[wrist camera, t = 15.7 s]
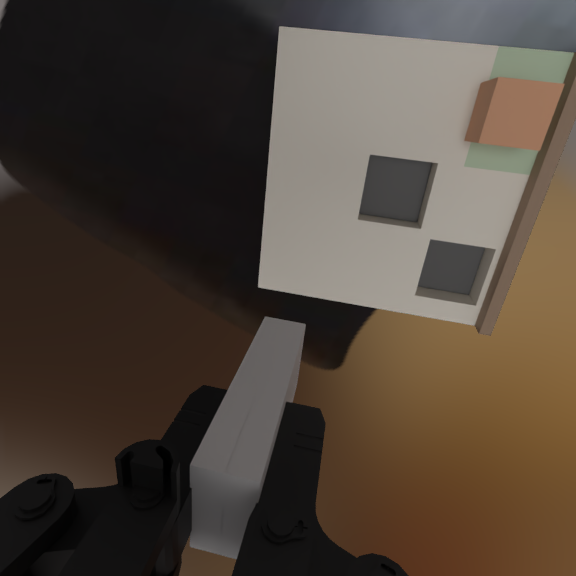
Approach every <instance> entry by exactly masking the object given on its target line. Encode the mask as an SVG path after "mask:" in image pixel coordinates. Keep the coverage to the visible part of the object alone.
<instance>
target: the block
mask: <svg viewBox="0 0 576 576" xmlns="http://www.w3.org/2000/svg"><path fill="white" fill-rule="evenodd" d="M564 85H565V84H562V83H552V82H543V81H533V80H524V79H514V78H505V77H497V78H494V79H491V80H488V81H485V82H482V83H481V84H480V88H479V91H478V95H477V98H476V102H475V105H474V108H473V112H472V115H471V119H470V122H469V126H468V129H467V133H466V136H465V140H464V141H469V142H475V143H482V144H490V145H497V146H505V147H513V148H521V149H529V150H537V151H540V149H541V147H542V144H543V141H544V139H545V136H546V133H547V130H548V128H549V125H550V122H551V120H552V117H553V114H554V112H555V109H556V106H557V104H558V101H559V98H560V96H561V93H562V90H563V88H564Z"/></svg>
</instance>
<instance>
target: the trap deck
mask: <svg viewBox="0 0 576 576" xmlns="http://www.w3.org/2000/svg"><path fill="white" fill-rule="evenodd" d="M497 77H505V78H514V79H524V80H533V81H543V82H552V83H562V84H565V85H564V88H563V90H562V93H561V96H560V98H559V101H558V104H557V106H556V109H555V112H554V114H553V117H552V120H551V122H550V125H549V128H548V130H547V133H546V136H545V139H544V141H543V144H542V147H541V149H540V151H537V150H529V149H521V148H513V147H505V146H497V145H490V144H482V143H475V142H469V141H464V140H465V136H466V133H467V129H468V126H469V122H470V119H471V115H472V112H473V108H474V105H475V102H476V98H477V95H478V91H479V88H480V84H481V83H482V82H485V81H488V80H491V79H494V78H497ZM575 119H576V52H575V53H572V52H561V51H549V50H538V49H527V48H516V47H505V46H494V45H482V44H471V43H460V42H449V41H438V40H427V39H416V38H404V37H393V36H382V35H371V34H360V33H349V32H337V31H326V30H315V29H304V28H293V27H282V26H279V37H278V49H277V61H276V73H275V86H274V98H273V110H272V123H271V135H270V147H269V159H268V172H267V184H266V196H265V208H264V221H263V233H262V245H261V257H260V270H259V282H258V287H259V288H265V289H271V290H276V291H282V292H288V293H293V294H299V295H305V296H310V297H316V298H322V299H327V300H333V301H339V302H344V303H350V304H355V305H361V306H367V307H372V308H378V309H384V310H390V311H395V312H401V313H406V314H413V315H418V316H423V317H429V318H435V319H440V320H446V321H451V322H457V323H463V324H468V325H474V326H475V327H476V329H477V331H478V333H479V334H484V335H491V333H492V331H493V328H494V326H495V323H496V321H497V318H498V316H499V313H500V310H501V308H502V305H503V303H504V300H505V298H506V295H507V293H508V290H509V288H510V285H511V282H512V280H513V277H514V275H515V272H516V270H517V267H518V265H519V262H520V259H521V257H522V254H523V252H524V249H525V247H526V244H527V242H528V239H529V236H530V234H531V231H532V229H533V226H534V224H535V221H536V219H537V216H538V213H539V211H540V208H541V206H542V203H543V201H544V198H545V195H546V193H547V190H548V188H549V185H550V182H551V180H552V178H553V175H554V173H555V170H556V167H557V165H558V162H559V160H560V157H561V155H562V152H563V149H564V147H565V144H566V142H567V139H568V137H569V134H570V132H571V129H572V126H573V124H574V121H575ZM431 166H432V167H431ZM430 170H431V171H430ZM426 185H427V186H426ZM425 189H426V190H425ZM424 193H425V194H424ZM423 197H424V198H423ZM422 201H423V202H422ZM421 205H422V206H421ZM364 214H365V215H364ZM384 217H385V218H384ZM391 218H392V219H391ZM398 219H399V220H398ZM417 220H418V221H417Z"/></svg>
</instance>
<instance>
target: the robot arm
mask: <svg viewBox="0 0 576 576" xmlns="http://www.w3.org/2000/svg"><path fill="white" fill-rule="evenodd" d="M305 326H306V324H302V323H297V322H291V321H286V320H281V319H275V318H270V317H265V318H264V320H263V322H262V324H261V326H260V328H259V330H258V332H257V334H256V336H255V338H254V340H253V342H252V344H251V345H250V348H249V349H248V351H247V353H246V355H245V358H244V359H243V361H242V363H241V365H240V367H239V369H238V371H237V373H236V375H235V377H234V379H233V381H232V383H231V385H230V387H229V389H228V390H225V389H220V388H215V387H211V386H206V385H203V386H201V387H200V388H199V389H197V390H196V391H195V392H193V393H192V394H190V395H189V397H188V398H187V400H186V402H185V403H184V405H183V406H182V408H181V411H179V413H178V414H177V416H176V417H175V419H174V422H172V424H171V425H170V427H169V428H168V430H167V432H166V433H165V435H164V436H163V438H162V439H161V440H150V439H149V440H144V441H140V442H136V443H134V444H132V445H130V446H128V447H127V448H125V449H124V450H122V451H121V452H120V453H119V454H118V455H117V456H116V457H115V462H116V470H117V479H118V484H116V485H112V486H107V487H98V488H83V489H74V487H73V483H72V482H71V481H70V480H69V479H68V478H67V477H66V476H63V475H60V474H56V473H54V474H42V475H39V476H36V477H33V478H30V479H28V480H26V481H24V482H23V483H21V484H19V485H18V486H16V487H14V488H13V489H12V490H10V491H9V492H8V493H7V494H5V495H4V496H3V497H1V498H0V576H179V572H180V568H181V563H182V561H181V560H182V559H181V555H182V552H183V550H184V547H185V545H186V542H187V540H188V538H189V536H190V547H193V548H197V549H200V550H204V551H208V552H212V553H215V554H219V555H223V556H226V557H230V558H234V559H237V560H236V564H235V567H234V570H233V574H232V576H408V575H407V574H406V572H405V571H404V570H403V569H402V568H401V567H400V566H399V565H398V564H397V563H395V562H394V561H392V560H391V559H389V558H387V557H386V556H382V555H377V554H373V553H371V554H366V555H362V556H359V557H358V558H356V557H355V556H353V555H351V554H350V553H348V552H347V551H345V550H344V549H342V548H341V547H339V546H338V545H336V544H335V543H334V542H333V541H331V540H330V539H329V538H328V536H327V535H326V534H325V533H324V532H323V530H322V528H321V526H320V524H319V522H318V520H317V516H316V510H315V509H316V507H315V506H316V505H315V502H316V494H317V487H318V479H319V471H320V463H321V455H322V447H323V439H324V431H325V421H324V418H323V415H322V413H321V410H320V409H319V408H315V407H310V406H305V405H300V404H296V403H292V402H293V398H294V394H295V389H296V386H297V380H298V373H299V367H300V360H301V353H302V346H303V339H304V333H305Z"/></svg>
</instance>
